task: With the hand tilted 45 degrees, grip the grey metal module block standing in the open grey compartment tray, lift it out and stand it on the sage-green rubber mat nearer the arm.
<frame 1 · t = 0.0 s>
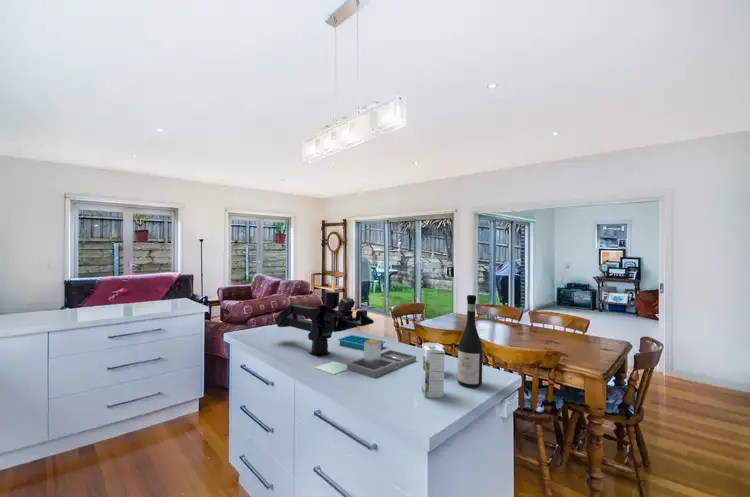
hand: (365, 323, 132), 17 cm above the table, tool horizontal, fingers open, 9 cm apart
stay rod: (393, 361, 140), resting on grey compartment tray
grey compartment tray: (371, 369, 130), on the table
syrup box: (432, 394, 109), on the table
white cup: (432, 373, 128), on the table
module: (372, 354, 130), in the grey compartment tray
ice cube tray: (361, 347, 161), on the table
wine bottle: (469, 384, 118), on the table
mat: (333, 368, 130), on the table
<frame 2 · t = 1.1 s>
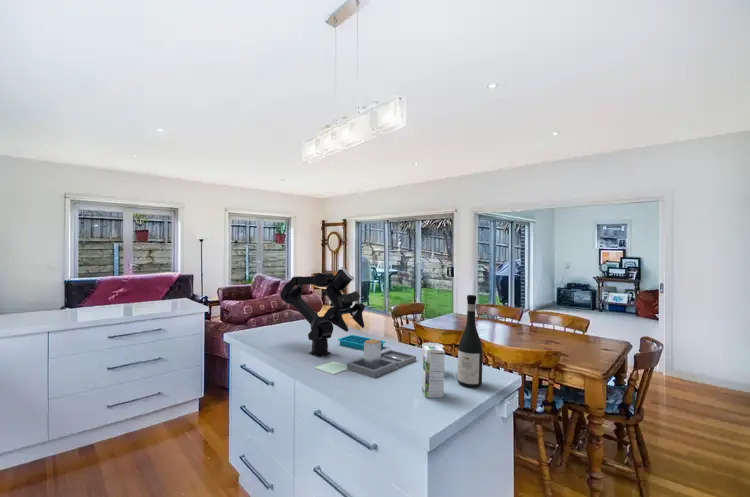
hand: (355, 329, 135), 14 cm above the table, tool tilted 45°, fingers open, 9 cm apart
nothing on the table moved.
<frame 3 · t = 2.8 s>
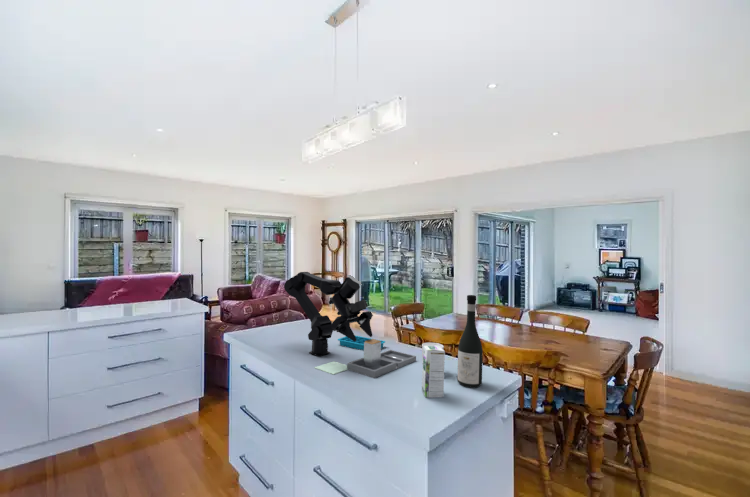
hand: (363, 338, 133), 11 cm above the table, tool tilted 45°, fingers open, 9 cm apart
nothing on the table moved.
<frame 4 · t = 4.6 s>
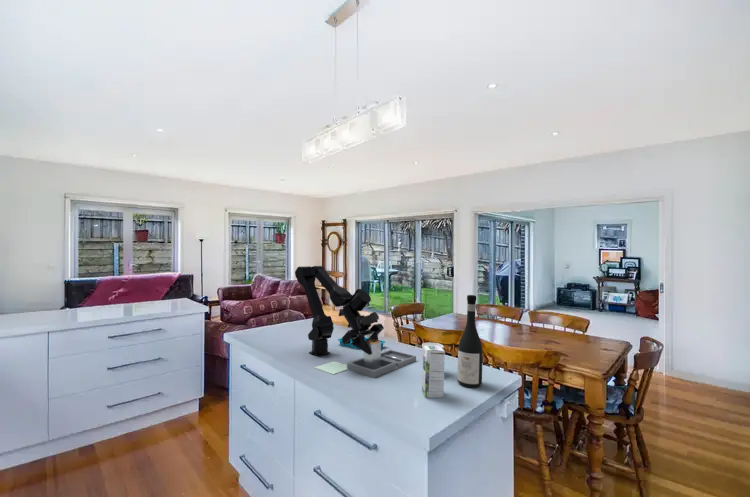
hand: (375, 352, 129), 7 cm above the table, tool tilted 45°, fingers closed on module, 5 cm apart
module: (372, 354, 130), in the grey compartment tray, touching gripper
everything else where it was.
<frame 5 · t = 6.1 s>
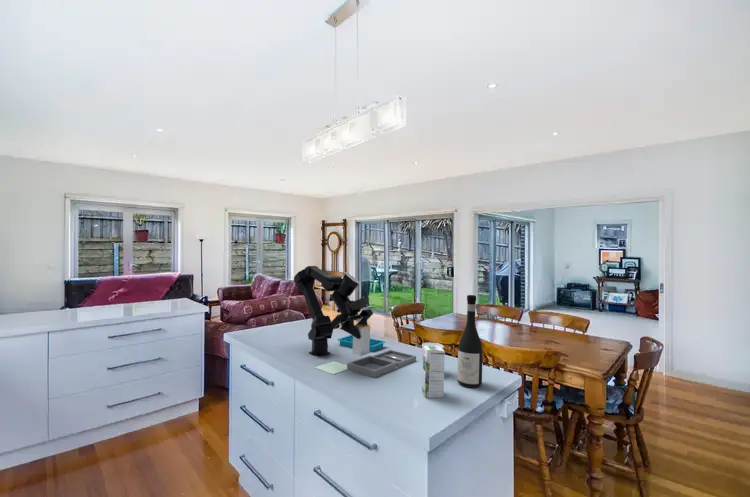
hand: (364, 337, 129), 12 cm above the table, tool tilted 45°, fingers closed on module, 5 cm apart
module: (361, 339, 130), point 11 cm above the table, touching gripper
everything else where it was.
when the fingers open (8 cm above the table, at t = 7.9 s): module stays where it is, resting on mat.
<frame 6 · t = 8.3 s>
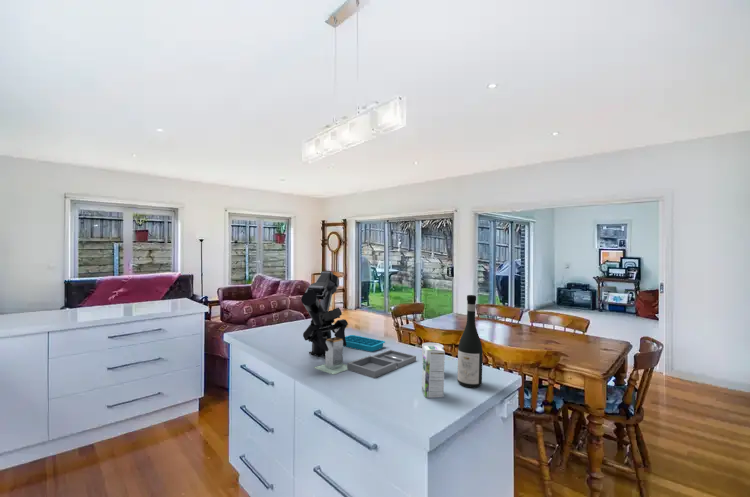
hand: (336, 348, 129), 8 cm above the table, tool tilted 45°, fingers open, 9 cm apart
module: (334, 353, 130), on the mat
everything else where it was.
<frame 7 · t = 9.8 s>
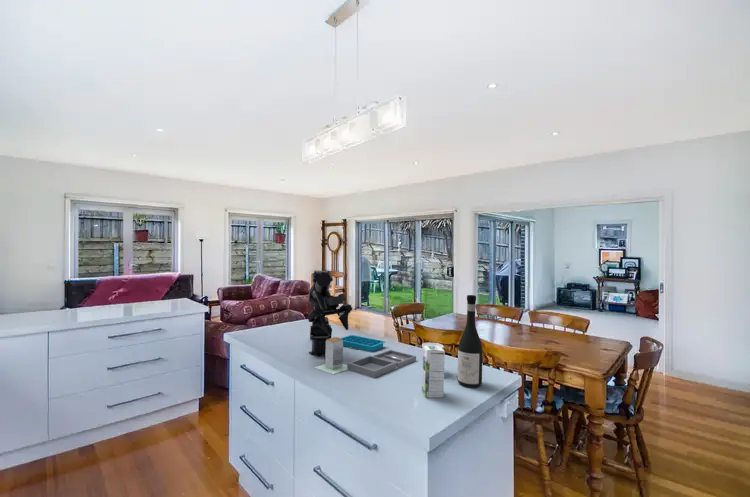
hand: (338, 331, 137), 12 cm above the table, tool tilted 40°, fingers open, 9 cm apart
nothing on the table moved.
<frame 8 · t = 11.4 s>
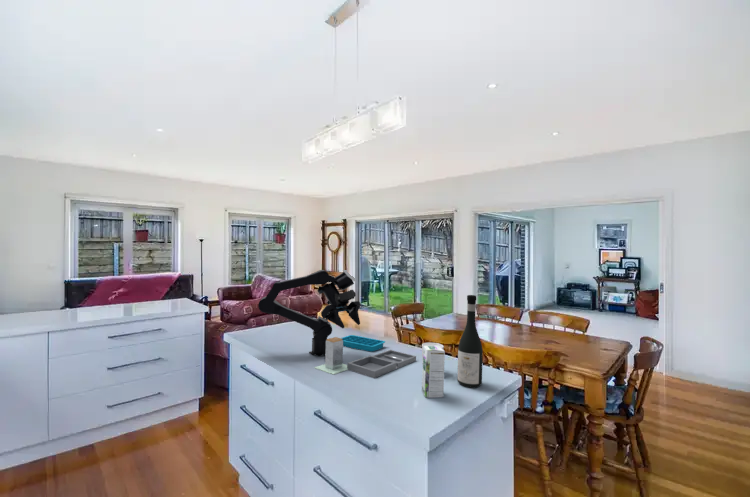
hand: (351, 326, 141), 14 cm above the table, tool tilted 45°, fingers open, 9 cm apart
nothing on the table moved.
at the end: module inside the target area on the mat (0.0 cm from its centre), point 5.7 cm above the mat's base; module tilted 0°; the gripper is holding nothing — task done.
